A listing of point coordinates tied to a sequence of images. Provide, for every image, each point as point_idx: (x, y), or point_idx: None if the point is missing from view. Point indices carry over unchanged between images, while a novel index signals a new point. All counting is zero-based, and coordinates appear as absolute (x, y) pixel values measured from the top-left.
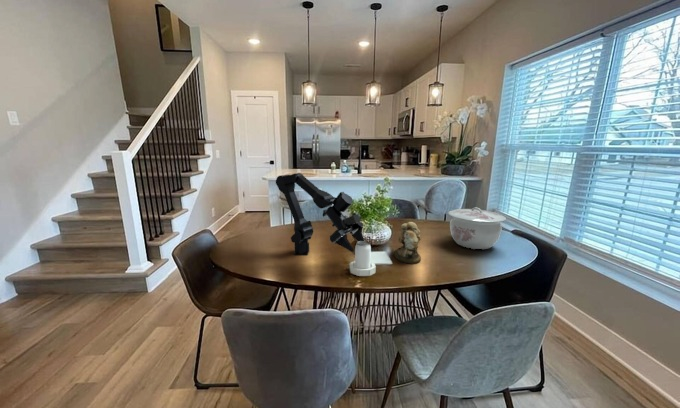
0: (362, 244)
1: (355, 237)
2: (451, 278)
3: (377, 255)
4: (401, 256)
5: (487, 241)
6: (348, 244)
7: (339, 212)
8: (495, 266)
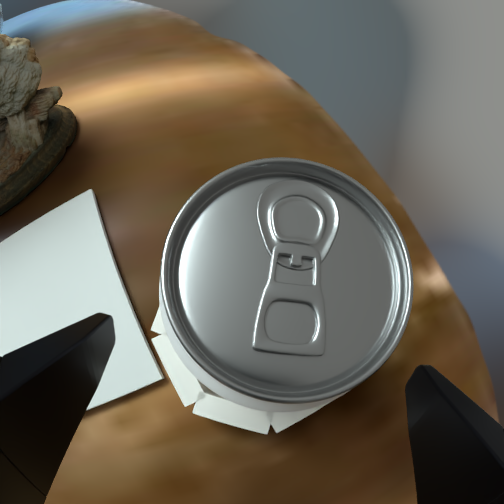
0: (324, 272)
1: (37, 491)
2: (179, 30)
3: (8, 299)
4: (32, 158)
5: (2, 19)
6: (496, 427)
7: None
8: (82, 11)
